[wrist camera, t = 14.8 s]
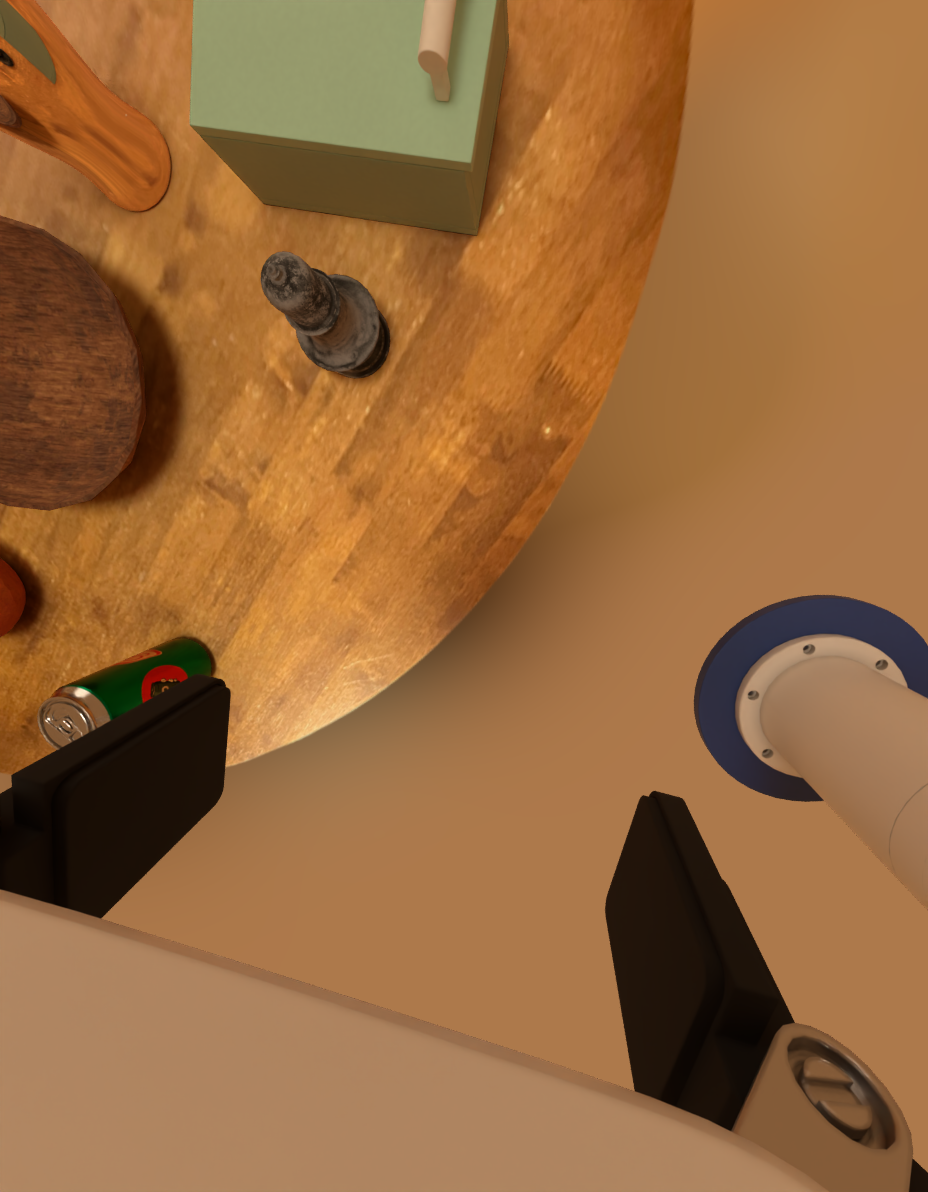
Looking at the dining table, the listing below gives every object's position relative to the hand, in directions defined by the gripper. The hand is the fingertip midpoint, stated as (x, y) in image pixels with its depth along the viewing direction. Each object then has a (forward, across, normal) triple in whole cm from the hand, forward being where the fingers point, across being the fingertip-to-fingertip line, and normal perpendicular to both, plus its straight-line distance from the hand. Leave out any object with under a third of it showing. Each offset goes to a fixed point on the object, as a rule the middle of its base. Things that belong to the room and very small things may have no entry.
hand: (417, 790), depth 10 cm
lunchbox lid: (+21, +14, -28) cm, 37 cm away
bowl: (+28, +38, -8) cm, 48 cm away
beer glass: (+28, +32, -24) cm, 49 cm away
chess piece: (+28, +14, -15) cm, 35 cm away
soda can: (+28, +26, +14) cm, 41 cm away
